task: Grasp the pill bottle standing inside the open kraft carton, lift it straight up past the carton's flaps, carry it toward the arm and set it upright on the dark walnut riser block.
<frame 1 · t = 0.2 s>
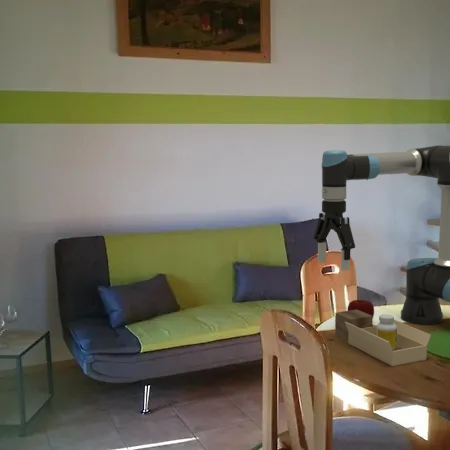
hand: (333, 266, 204), 28 cm above the table, fingers open, 13 cm apart
apple: (360, 327, 231), on the table
carton: (385, 351, 205), on the table
riser: (353, 336, 220), on the table
pill bottle: (385, 351, 205), resting in carton
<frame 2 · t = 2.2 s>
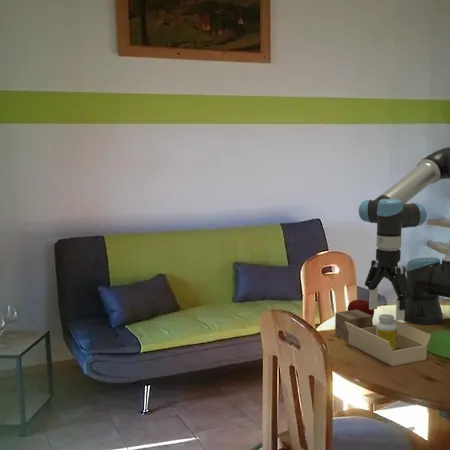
hand: (386, 314, 203), 12 cm above the table, fingers open, 13 cm apart
nothing on the table moved.
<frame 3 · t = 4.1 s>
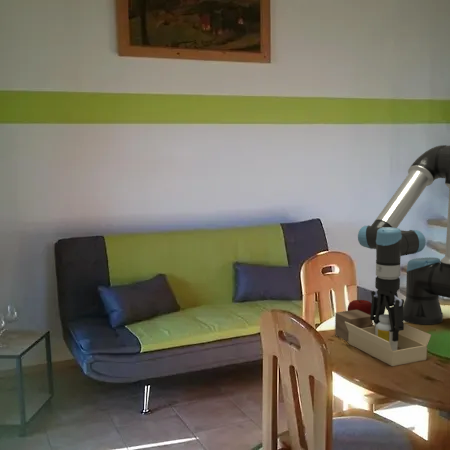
hand: (385, 346, 205), 1 cm above the table, fingers closed on pill bottle, 6 cm apart
pill bottle: (385, 351, 205), resting in carton, touching gripper
everything else where it was.
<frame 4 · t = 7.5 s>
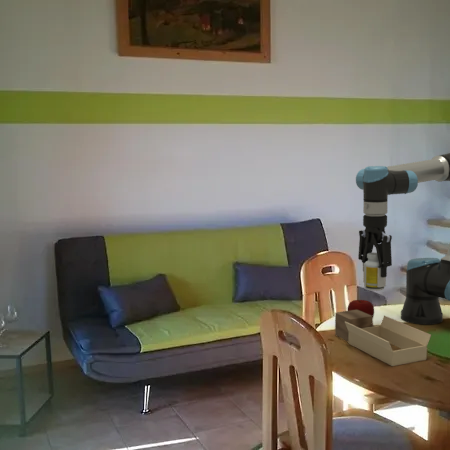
hand: (374, 284, 208), 21 cm above the table, fingers closed on pill bottle, 6 cm apart
pill bottle: (374, 289, 208), point 19 cm above the table, touching gripper
everything else where it was.
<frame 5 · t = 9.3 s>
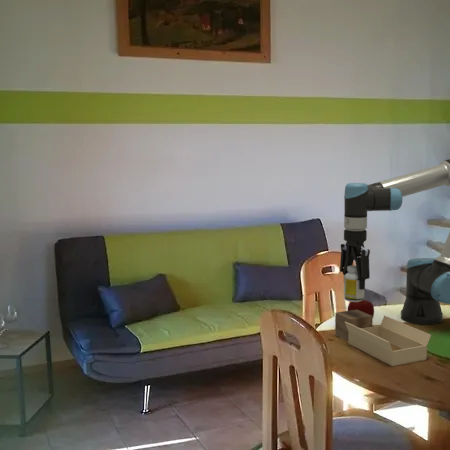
hand: (353, 295, 217), 15 cm above the table, fingers closed on pill bottle, 6 cm apart
pill bottle: (353, 300, 218), point 13 cm above the table, touching gripper
everything else where it was.
when the fingers open (10 cm above the table, at t = 10.8 s): pill bottle stays where it is, resting on riser.
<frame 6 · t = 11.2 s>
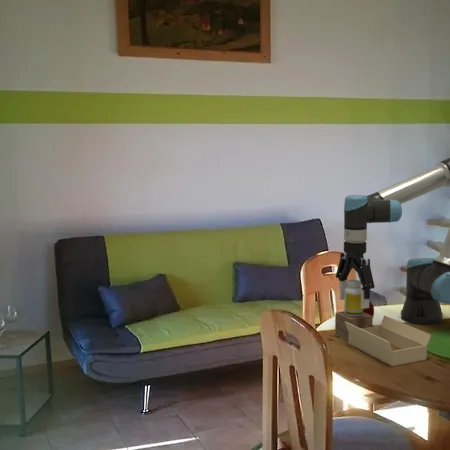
hand: (354, 303, 218), 12 cm above the table, fingers open, 12 cm apart
pill bottle: (353, 314, 218), point 8 cm above the table, touching riser
everything else where it was.
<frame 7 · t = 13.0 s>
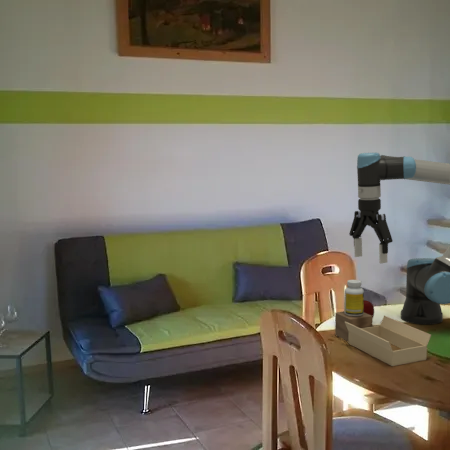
hand: (370, 259, 220), 26 cm above the table, fingers open, 13 cm apart
nothing on the table moved.
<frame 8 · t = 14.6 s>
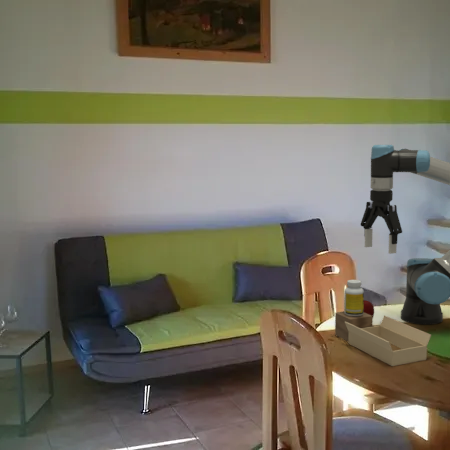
hand: (380, 250, 224), 29 cm above the table, fingers open, 13 cm apart
nothing on the table moved.
at the end: pill bottle inside the target area on the riser (0.0 cm from its centre), point 7.8 cm above the riser's base; pill bottle tilted 0°; the gripper is holding nothing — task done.
